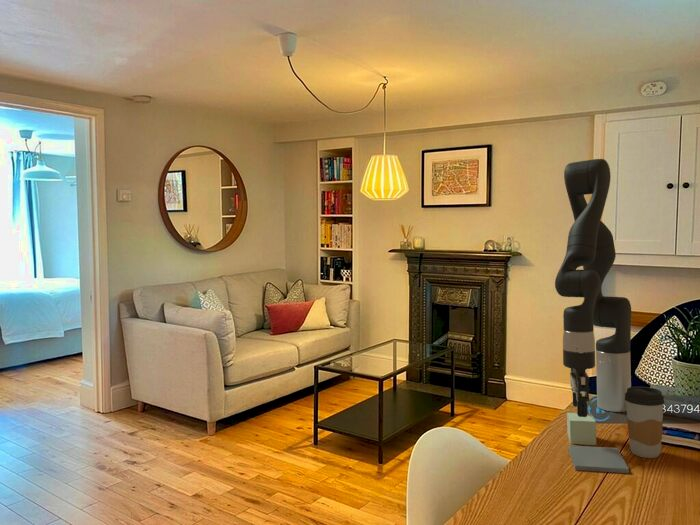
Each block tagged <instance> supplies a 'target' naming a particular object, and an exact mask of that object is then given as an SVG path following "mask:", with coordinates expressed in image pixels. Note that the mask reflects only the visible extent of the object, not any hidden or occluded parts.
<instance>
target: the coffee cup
mask: <svg viewBox="0 0 700 525" xmlns="http://www.w3.org/2000/svg"><path fill="white" fill-rule="evenodd" d="M664 399H665V398H664V395H663V393H662V391H661V390H660V389H657V388H654V387H650V386H649V387H647V386H631V387H630V388H628V389H627V392H626V393H625V400H626V409H627V411H626V423H627V431H628V432H627V433H628V434H627V435H628V439H629V449H630V451H631V453H632V454H633V455H635V456H637V457H641V458H645V459H655V458H658V457H659V456H660V455H661V452H662V440H663V424H664V420H663V418H664V416H663V415H664V404H665V400H664Z"/></svg>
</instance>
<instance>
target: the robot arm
mask: <svg viewBox="0 0 700 525" xmlns="http://www.w3.org/2000/svg"><path fill="white" fill-rule="evenodd" d="M563 176H564V185H565V188H566V189H565V190H566V193H567V196H568V201H569V205H570V208H571V212H572V216H573V220H574V222H573V223H572V225H571V227H570V228H569V231H568V236H567V244H566V245H567V246H566V252H565V256H564V258H563V260H562V263H561V265H560V268H559V270H558V272H557V273H556V276H555V279H554V280H555V281H554V288H555V291H556V293H557V294H558V295H559V296H561V297H564V298H583V301H582V303H581V304H579V305H572V306H567V307H566V308H564V309H563V316H562V318H563V335H562V363H563V364H562V365H563V366H564V368H565V367H566V368H568V369H570V372H569V378H570V382H569V383H570V387H571V391H572V405H573V407H576V413H577V415H578V416H579V417H587V414H588V402H589V401H590V389H589V388H590V386H589V381H590V378H589V375H588V374H587V372H586V371H587V370H590V369H594V368H595V367H596V368H595V369H596V406H597V408H598V409H600V410H603V411H608V412H614V413H623V412H627V409H626V400H625V393H626V392H627V389H628V388H630V387H632V380H631V379H632V375H631V372H632V371H631V370H632V369H631V367H632V366H631V340H632V339H631V336H632V335H631V333H632V332H631V329H632V305H631V302H630V300H629V299H628V298H627V297H624V296H605V295H604V294H603V292H602V287H603V283H604V282H605V278H606V277H607V275H608V274H609V272H610V270H611V268H612V267H613V265H614V263H615V260H616V256H617V255H616V253H617V252H616V247H615V241H614V236H613V233H612V231H611V230H610V229H609V227H608V226H607V225H606V224H605V223H604V222H603V220H602V216H603V212H604V210H605V205H606V201H607V198H608V195H609V190H610V186H611V185H610V184H611V168H610V166H609V163H608V161H607V160H606V159H604V158H595V159H594V158H593V159H588V160H587V159H586V160H579V161H574V162H569V163H568V164H566V165H565V167H564V172H563ZM585 195H591V196H590V199H589V202H587V200H586V198H585ZM579 267H582V269H578V268H579ZM594 326H595V327H599V328H608V329H609V328H611V329H615V330H614V334H612V335H610V336H606V337H602V338H599V339H597V340H596V339H595V333H594V332H595V331H594ZM583 394H584V395H583Z"/></svg>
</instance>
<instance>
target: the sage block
mask: <svg viewBox="0 0 700 525" xmlns="http://www.w3.org/2000/svg"><path fill="white" fill-rule="evenodd" d="M566 420H567V421H566V422H567V423H566V424H567V426H566V427H567V428H566V429H567V432H566V433H567V437H568V440H569V444H571V445H585V446H589V445H590V446H596V445H597V422H596V421H597V420H595V418H594V416H593V414H592V413H587V417H579V416H578V415H577V412H576V413H575V412H566Z"/></svg>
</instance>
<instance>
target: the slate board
mask: <svg viewBox="0 0 700 525" xmlns="http://www.w3.org/2000/svg"><path fill="white" fill-rule="evenodd" d="M568 452H569V456H570V458H571V462H572V464H573V468H574V470H575V471H583V472H584V471H586V472H601V473H604V472H605V473H615V474H616V473H617V474H618V473H620V474H630V469H629V468H630V467H629V466H628V465H627V462H626V461H625V459H624V458H623V456H622V454H621V452H620V451H619V448H618V447H607V446H605V447H603V446H589V445H584V446H583V445H568Z"/></svg>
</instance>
